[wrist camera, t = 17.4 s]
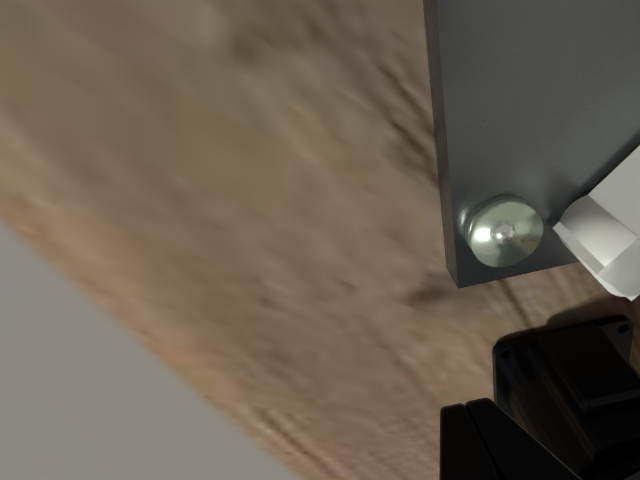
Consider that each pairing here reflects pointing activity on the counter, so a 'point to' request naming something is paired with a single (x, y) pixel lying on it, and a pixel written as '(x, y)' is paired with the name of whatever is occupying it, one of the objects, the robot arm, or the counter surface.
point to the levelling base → (526, 122)
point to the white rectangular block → (608, 229)
